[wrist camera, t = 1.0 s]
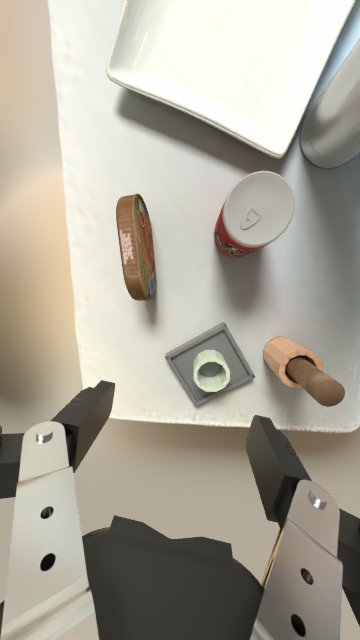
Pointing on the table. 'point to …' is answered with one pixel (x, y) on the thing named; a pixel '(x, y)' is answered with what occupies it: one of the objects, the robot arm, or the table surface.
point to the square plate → (229, 60)
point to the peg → (315, 381)
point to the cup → (287, 358)
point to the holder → (217, 381)
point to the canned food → (254, 213)
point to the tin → (136, 247)
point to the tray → (209, 340)
